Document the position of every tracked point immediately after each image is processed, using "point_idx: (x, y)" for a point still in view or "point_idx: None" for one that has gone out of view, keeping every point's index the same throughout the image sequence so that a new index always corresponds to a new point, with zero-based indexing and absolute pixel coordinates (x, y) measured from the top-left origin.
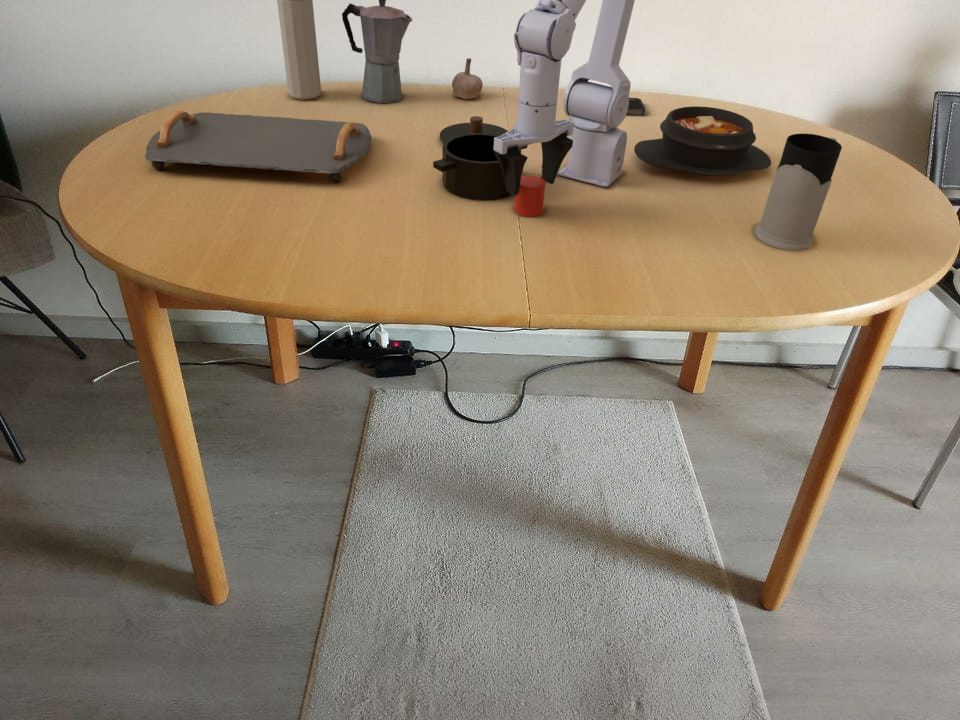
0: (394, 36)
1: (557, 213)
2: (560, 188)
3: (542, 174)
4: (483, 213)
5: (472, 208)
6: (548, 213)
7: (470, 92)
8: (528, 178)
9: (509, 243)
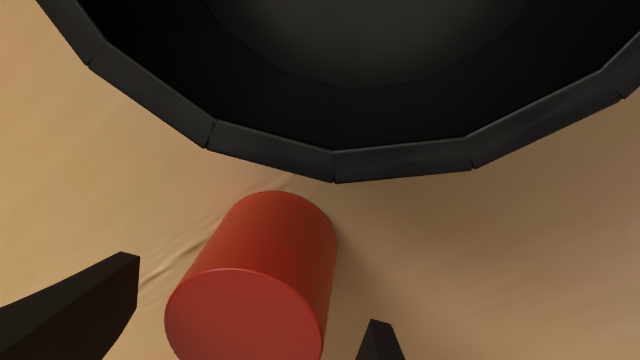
0: None
1: (335, 328)
2: (569, 243)
3: (372, 338)
4: (118, 118)
5: None
6: None
7: None
8: (261, 313)
9: None
